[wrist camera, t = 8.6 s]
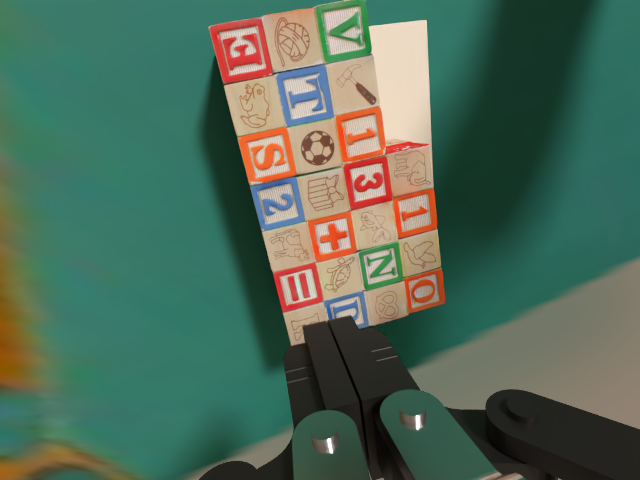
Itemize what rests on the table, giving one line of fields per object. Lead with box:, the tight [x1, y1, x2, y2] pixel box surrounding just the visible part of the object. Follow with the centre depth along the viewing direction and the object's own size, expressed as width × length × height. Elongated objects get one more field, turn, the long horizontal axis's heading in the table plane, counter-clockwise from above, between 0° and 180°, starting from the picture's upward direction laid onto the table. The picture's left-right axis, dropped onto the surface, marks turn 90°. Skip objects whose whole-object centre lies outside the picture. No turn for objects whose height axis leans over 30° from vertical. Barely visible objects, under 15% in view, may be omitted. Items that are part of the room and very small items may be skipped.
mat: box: [369, 20, 433, 174], centre depth 32 cm, size 14×24×1 cm, turn 8°
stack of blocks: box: [208, 0, 445, 346], centre depth 28 cm, size 21×6×12 cm
